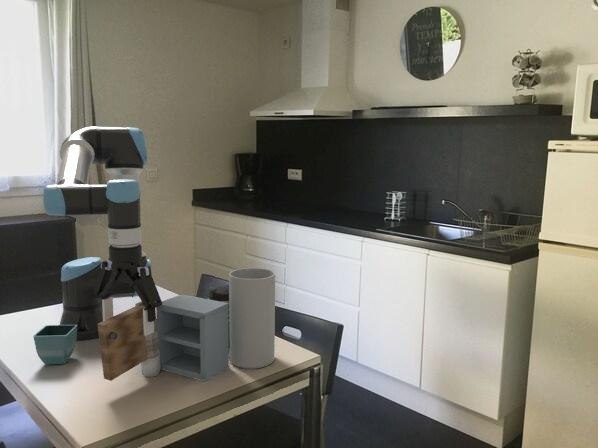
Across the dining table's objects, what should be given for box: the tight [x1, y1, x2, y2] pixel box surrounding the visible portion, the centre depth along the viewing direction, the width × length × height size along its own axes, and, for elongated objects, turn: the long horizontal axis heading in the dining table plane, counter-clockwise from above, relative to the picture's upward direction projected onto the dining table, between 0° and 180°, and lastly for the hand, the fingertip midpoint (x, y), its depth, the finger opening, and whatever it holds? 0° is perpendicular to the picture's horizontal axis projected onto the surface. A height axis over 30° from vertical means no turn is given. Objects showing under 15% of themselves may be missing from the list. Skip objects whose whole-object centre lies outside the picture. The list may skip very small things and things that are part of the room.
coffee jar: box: [207, 284, 230, 349], centre depth 155 cm, size 10×8×19 cm
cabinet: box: [141, 294, 230, 382], centre depth 137 cm, size 18×15×18 cm
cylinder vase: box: [228, 267, 276, 370], centre depth 144 cm, size 12×12×25 cm
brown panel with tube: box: [98, 300, 160, 382], centre depth 130 cm, size 17×5×14 cm, turn 152°
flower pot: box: [33, 324, 77, 365], centre depth 143 cm, size 9×9×9 cm
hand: (128, 328), depth 129 cm, fingers open, 13 cm apart
